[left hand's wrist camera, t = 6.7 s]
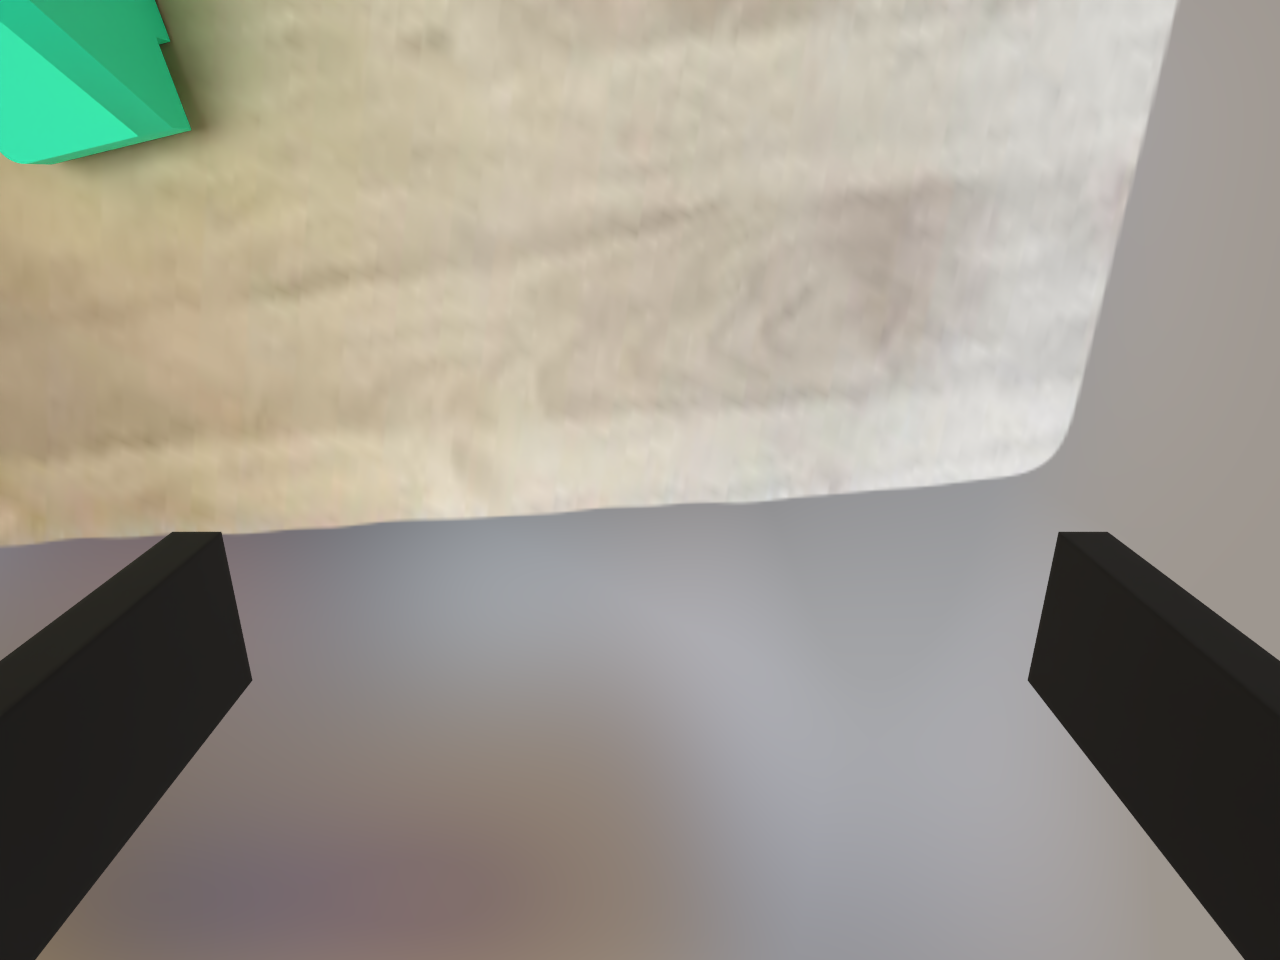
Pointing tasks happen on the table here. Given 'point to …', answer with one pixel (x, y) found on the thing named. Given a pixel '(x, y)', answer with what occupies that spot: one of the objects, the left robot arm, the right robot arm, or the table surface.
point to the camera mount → (83, 78)
